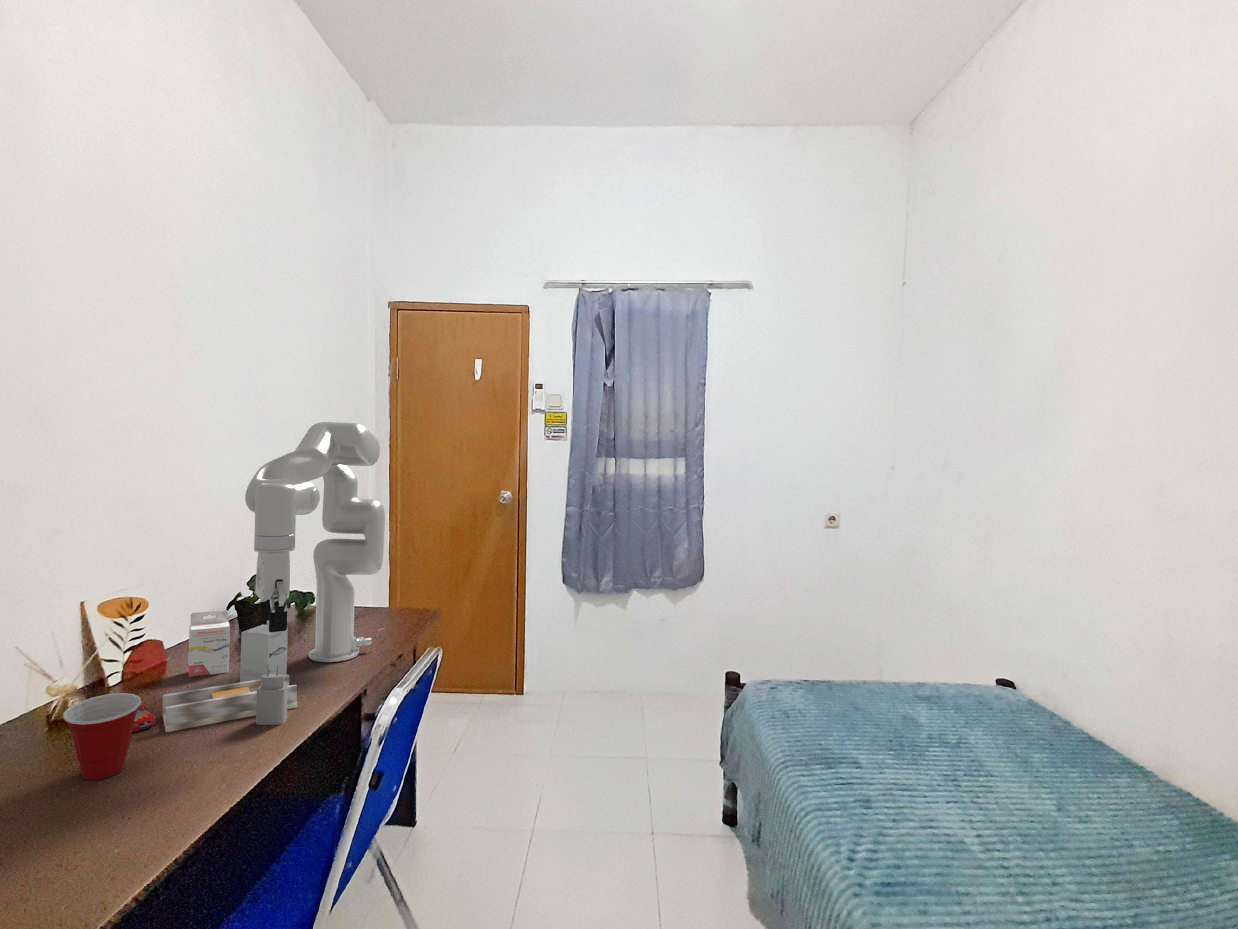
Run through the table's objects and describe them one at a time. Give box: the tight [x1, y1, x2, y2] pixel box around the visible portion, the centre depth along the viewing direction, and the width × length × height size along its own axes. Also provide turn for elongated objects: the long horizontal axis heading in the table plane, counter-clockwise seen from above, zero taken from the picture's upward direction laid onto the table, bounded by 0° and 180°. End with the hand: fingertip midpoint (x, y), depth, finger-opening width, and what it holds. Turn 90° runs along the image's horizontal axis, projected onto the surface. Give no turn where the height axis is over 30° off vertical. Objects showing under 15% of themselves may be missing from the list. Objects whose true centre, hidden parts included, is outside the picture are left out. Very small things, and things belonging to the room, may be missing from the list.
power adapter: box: [255, 664, 288, 726], centre depth 141 cm, size 3×5×12 cm, turn 96°
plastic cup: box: [62, 692, 142, 781], centre depth 118 cm, size 11×11×12 cm
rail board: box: [161, 674, 298, 733], centre depth 146 cm, size 24×10×4 cm, turn 127°
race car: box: [132, 704, 156, 733], centre depth 138 cm, size 13×5×4 cm, turn 61°
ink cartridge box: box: [187, 609, 231, 678], centre depth 168 cm, size 9×5×15 cm, turn 123°
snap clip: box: [211, 687, 250, 699], centre depth 146 cm, size 7×6×1 cm
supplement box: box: [239, 624, 289, 682], centre depth 164 cm, size 7×7×13 cm
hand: (273, 625), depth 141 cm, fingers open, 9 cm apart
